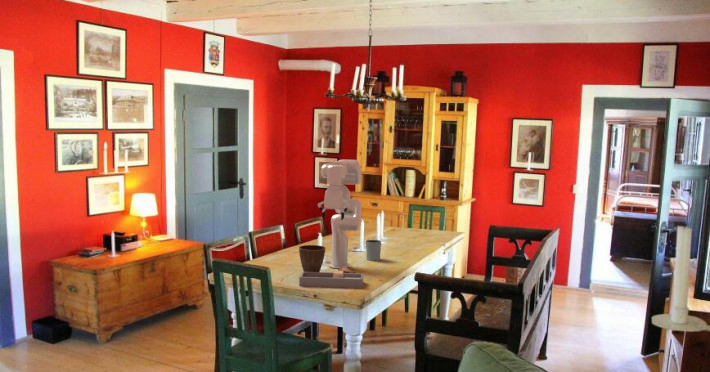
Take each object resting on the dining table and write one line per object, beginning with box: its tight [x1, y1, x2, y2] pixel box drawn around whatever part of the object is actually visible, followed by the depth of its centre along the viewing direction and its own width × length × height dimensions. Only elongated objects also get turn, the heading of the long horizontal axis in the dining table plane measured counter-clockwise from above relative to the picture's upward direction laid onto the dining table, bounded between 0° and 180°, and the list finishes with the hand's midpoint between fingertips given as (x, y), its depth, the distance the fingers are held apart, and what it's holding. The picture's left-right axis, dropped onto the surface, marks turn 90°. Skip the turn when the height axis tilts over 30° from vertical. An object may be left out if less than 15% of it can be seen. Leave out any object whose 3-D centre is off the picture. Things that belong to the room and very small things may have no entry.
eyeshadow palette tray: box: [298, 271, 364, 289], centre depth 300 cm, size 12×33×4 cm, turn 88°
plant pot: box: [298, 244, 326, 272], centre depth 316 cm, size 15×15×16 cm
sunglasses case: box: [337, 266, 357, 273], centre depth 318 cm, size 18×7×7 cm
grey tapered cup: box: [365, 239, 382, 262], centre depth 360 cm, size 10×10×12 cm
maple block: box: [332, 270, 343, 278], centre depth 299 cm, size 5×5×4 cm
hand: (333, 219), depth 306 cm, fingers open, 9 cm apart
